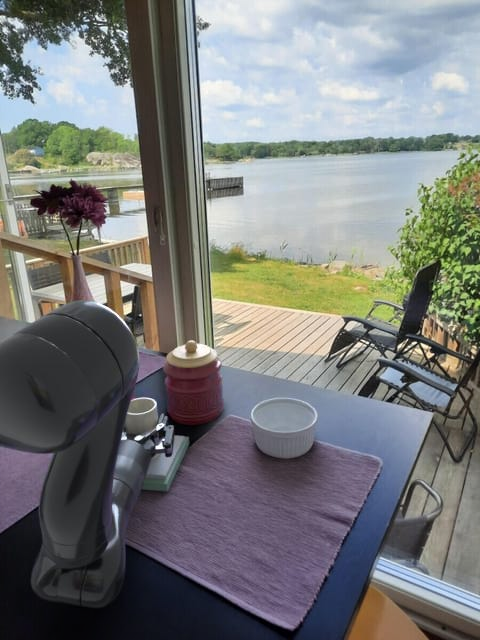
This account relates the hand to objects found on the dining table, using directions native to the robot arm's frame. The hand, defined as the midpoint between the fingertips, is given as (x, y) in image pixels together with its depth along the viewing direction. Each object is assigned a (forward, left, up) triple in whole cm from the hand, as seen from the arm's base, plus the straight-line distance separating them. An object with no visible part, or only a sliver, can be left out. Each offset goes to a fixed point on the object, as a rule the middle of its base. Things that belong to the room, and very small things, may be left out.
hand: (144, 418), depth 83 cm
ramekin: (+26, +8, -9) cm, 28 cm away
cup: (0, -2, -6) cm, 6 cm away
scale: (-1, -2, -9) cm, 9 cm away
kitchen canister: (+5, +18, -9) cm, 21 cm away
